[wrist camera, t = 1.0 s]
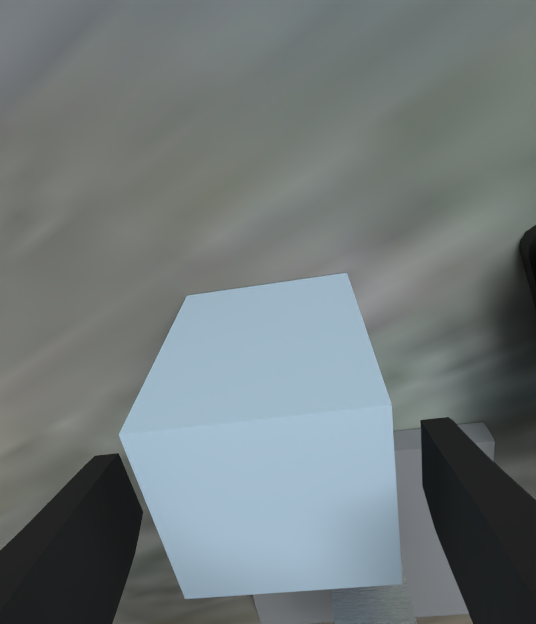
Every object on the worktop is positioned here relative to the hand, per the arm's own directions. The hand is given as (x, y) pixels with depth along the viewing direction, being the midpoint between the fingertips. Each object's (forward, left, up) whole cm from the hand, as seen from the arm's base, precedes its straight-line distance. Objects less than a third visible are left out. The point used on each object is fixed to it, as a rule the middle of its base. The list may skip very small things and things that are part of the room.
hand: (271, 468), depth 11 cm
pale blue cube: (0, 0, -5) cm, 5 cm away
